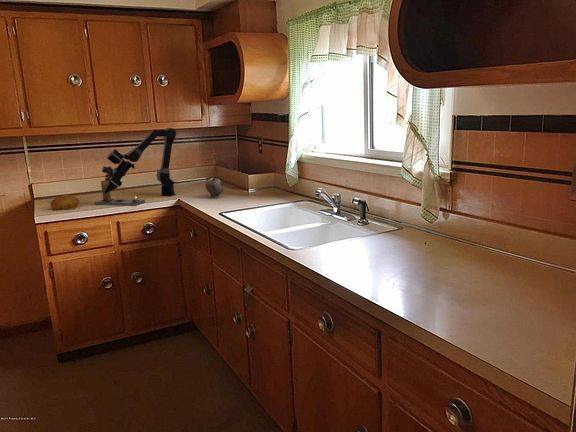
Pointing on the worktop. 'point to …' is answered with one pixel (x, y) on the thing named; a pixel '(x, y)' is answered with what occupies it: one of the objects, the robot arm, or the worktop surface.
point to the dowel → (104, 185)
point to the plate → (121, 202)
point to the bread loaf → (64, 202)
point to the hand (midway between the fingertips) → (103, 191)
